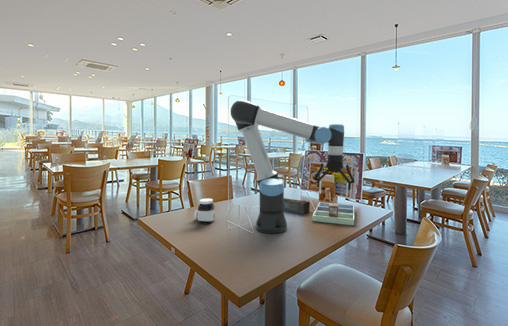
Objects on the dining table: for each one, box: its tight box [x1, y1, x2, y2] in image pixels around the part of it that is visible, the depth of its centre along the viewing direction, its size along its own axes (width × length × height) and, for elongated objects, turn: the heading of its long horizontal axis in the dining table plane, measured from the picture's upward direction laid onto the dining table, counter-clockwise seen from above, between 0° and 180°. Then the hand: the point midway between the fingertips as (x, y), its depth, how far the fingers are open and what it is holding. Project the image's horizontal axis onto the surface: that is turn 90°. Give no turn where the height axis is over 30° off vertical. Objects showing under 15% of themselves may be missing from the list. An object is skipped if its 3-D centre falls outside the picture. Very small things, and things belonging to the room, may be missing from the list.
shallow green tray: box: [314, 205, 355, 215], centre depth 152 cm, size 21×9×3 cm, turn 70°
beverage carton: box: [284, 197, 311, 215], centre depth 163 cm, size 8×19×7 cm, turn 53°
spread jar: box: [193, 197, 216, 224], centre depth 142 cm, size 12×11×12 cm
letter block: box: [329, 203, 340, 218], centre depth 142 cm, size 4×5×8 cm
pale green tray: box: [312, 210, 355, 226], centre depth 143 cm, size 21×9×3 cm, turn 70°
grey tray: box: [317, 201, 355, 210], centre depth 161 cm, size 21×9×3 cm, turn 70°
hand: (333, 194), depth 141 cm, fingers open, 13 cm apart
